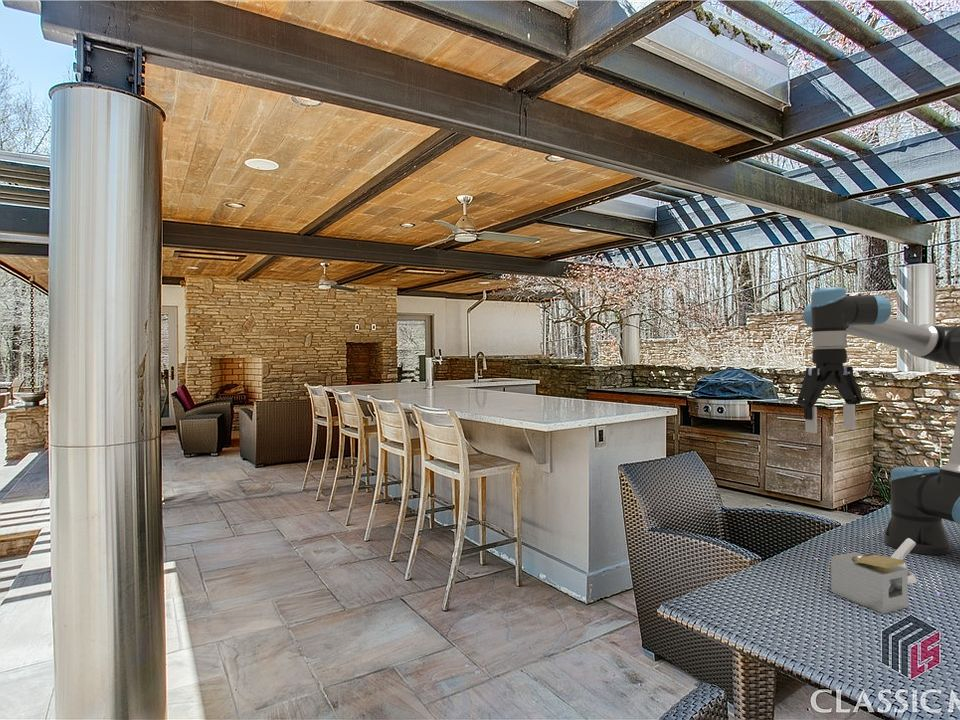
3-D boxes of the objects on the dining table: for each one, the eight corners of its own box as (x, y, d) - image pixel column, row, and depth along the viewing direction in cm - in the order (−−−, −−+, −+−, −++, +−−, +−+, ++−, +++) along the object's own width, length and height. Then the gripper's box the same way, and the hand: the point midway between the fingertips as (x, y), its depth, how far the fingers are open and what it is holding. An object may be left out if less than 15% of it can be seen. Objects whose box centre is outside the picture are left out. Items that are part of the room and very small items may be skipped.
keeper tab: (870, 558, 131) (869, 552, 131) (904, 564, 124) (903, 559, 124) (852, 561, 129) (851, 556, 129) (885, 568, 122) (884, 563, 122)
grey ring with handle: (944, 562, 137) (927, 548, 135) (912, 599, 138) (894, 586, 137) (917, 545, 144) (900, 532, 143) (887, 581, 146) (869, 568, 144)
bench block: (855, 587, 136) (854, 551, 136) (908, 607, 125) (907, 569, 125) (831, 592, 133) (831, 556, 133) (883, 613, 122) (882, 574, 122)
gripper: (849, 347, 152) (851, 426, 152) (780, 349, 143) (781, 432, 143) (877, 347, 145) (879, 429, 145) (806, 348, 136) (808, 435, 136)
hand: (830, 430), depth 144 cm, fingers open, 13 cm apart
